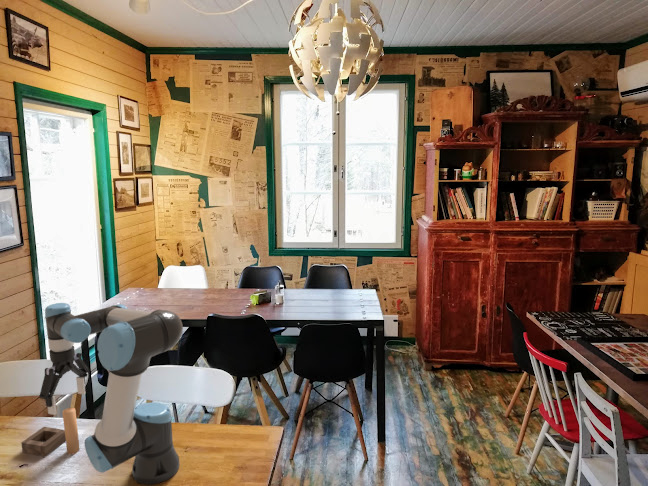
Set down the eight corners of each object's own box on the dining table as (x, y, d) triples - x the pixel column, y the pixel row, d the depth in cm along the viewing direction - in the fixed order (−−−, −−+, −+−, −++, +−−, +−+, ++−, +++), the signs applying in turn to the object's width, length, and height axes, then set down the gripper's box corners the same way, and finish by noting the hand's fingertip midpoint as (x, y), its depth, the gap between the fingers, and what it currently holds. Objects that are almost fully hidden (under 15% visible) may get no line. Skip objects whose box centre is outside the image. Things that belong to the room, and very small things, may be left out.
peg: (82, 448, 167) (77, 408, 164) (74, 455, 163) (69, 414, 160) (72, 446, 168) (68, 407, 165) (64, 453, 164) (59, 413, 161)
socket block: (67, 439, 172) (66, 430, 171) (46, 456, 162) (44, 446, 161) (45, 436, 174) (43, 426, 173) (22, 452, 164) (21, 442, 164)
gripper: (78, 332, 171) (84, 384, 175) (21, 362, 147) (29, 421, 151) (96, 334, 169) (101, 387, 173) (41, 364, 145) (48, 424, 149)
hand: (67, 403), depth 162 cm, fingers open, 13 cm apart
